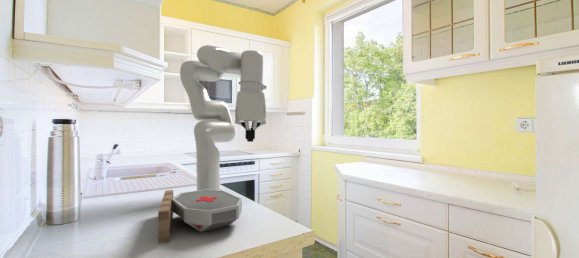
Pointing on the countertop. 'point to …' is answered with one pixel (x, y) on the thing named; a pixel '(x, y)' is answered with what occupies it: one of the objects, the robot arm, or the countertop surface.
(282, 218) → the countertop surface
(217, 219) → the first aid kit
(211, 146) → the robot arm
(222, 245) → the countertop surface
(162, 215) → the walnut board
